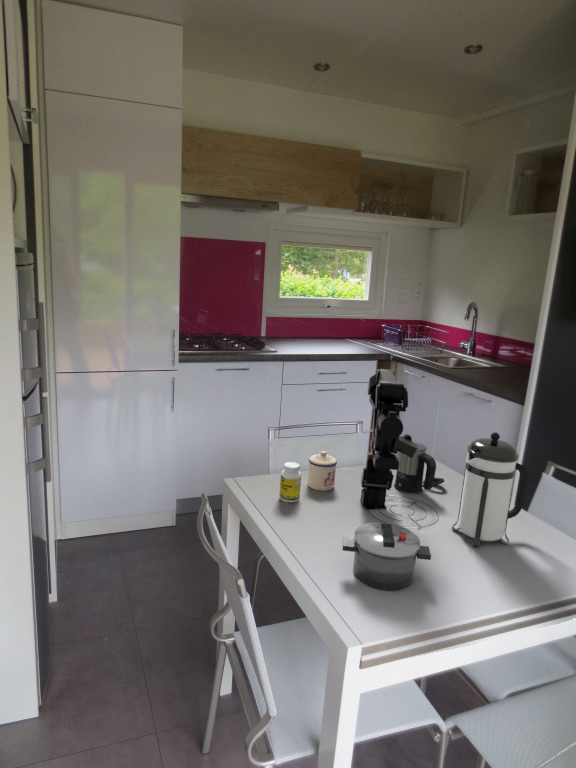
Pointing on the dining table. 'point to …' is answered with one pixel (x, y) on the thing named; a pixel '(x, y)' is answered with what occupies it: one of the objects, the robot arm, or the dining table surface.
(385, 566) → the steel pot
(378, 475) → the robot arm
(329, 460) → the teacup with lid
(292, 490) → the pill bottle
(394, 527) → the pot lid
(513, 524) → the dining table surface
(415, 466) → the milk frother
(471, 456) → the coffee press
